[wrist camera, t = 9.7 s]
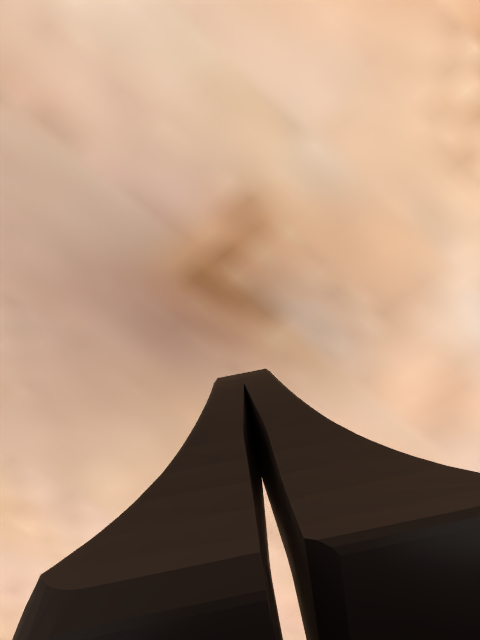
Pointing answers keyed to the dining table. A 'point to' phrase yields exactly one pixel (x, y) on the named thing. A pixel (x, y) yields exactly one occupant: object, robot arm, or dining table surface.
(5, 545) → the dining table surface
